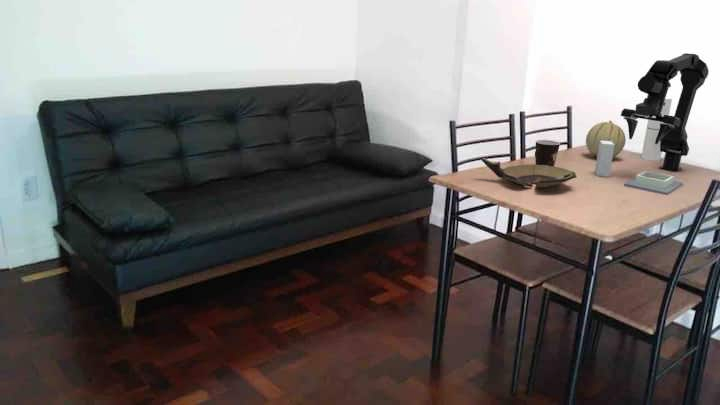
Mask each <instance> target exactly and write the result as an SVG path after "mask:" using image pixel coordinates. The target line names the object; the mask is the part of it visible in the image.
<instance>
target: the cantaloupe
mask: <svg viewBox="0 0 720 405" xmlns="http://www.w3.org/2000/svg"><path fill="white" fill-rule="evenodd" d="M585 138H586V139H585V145H586V148H587V150H588V151H589V153H590V154H591V155H593V156H594V157H596V158H597V156H598V150H599V144H600V141H612V143H613V144H615V146H614V152H613V158H615V157H616V156H618V155H619V154H620V153H621V152H622V151H623V150H624V148H625V145H626V143H627V142H626V134H625V132H624V130H623V129H622V127H620V126H619V125H617V124H615V123H613V121H612V120H609V121H603V122H599V123H596V124H594V125H593V126H592V127H591V128H590V129H589V131H588V132H587V134H586V137H585Z"/></svg>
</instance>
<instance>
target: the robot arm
mask: <svg viewBox="0 0 720 405" xmlns="http://www.w3.org/2000/svg"><path fill="white" fill-rule="evenodd" d="M678 72H679V74H680V83H681V86H682V88H681V92H680V96H679V98H678V103H677V106H676V109H675V113H674V115H670V114H669V115H664V116H663V117H661V116H662V114H661V111H662V108H663V105H664V106H665V102H664V101H665V98H666V97H667V94H668V91H669V89H670V88H671V87H672V86H671V85H672V84H671V83H670V80H672V79H674V78H675V77H676V76H677V75H678ZM709 72H710V71H709V67H708V65H707V63H706V62H705V61H703V60H702V59H701V58H700V56H699V55H698V54H696V53H686V52H685V53H683V54H681V55H679V56H676V57H674V58H672V59H670V60H666V59H665V60H661V59H659V60H658V59H657V60H656V61H654V63H653V64H651V66H650V68H649V70H648V71H647V72H646V73H645V75H644V76H642V77H641V78H640V79H639V80H638V82H637V88H638V90H639V91H640V92H642V93H645V94H647V95H646V96H647V97H644V98H643V99H644V100H643V102H640V103H637V104H636V105H635V109H630V108H623V109H622V110H621V112H620V116H621V117H623V119H624V120H625V121H626V122H627V126H628V127H627V128H628V139H629V140H632V139H633V138H634V135H635V131H636V129H637V126H638V123H639V120H637V119H642V120H647V121H648V120H653V121H659V122H663V124H661V123H660V130H659V132H658V135H657V138H656V141H655V144H658V143H659V142H660V152H662V153H664V158H663V162H662V165H661V166H659V167H658V168H659V169H662V170H667V171H672V172H678V171H681V170H682V169H683V167H680V165H681V161H682V157H684V156H685V157H686V156H688V154H689V151H690V147H689V145H688V141H687V140H688V134H687V131H686V126H687V123H688V120H689V117H690V114H691V111H692V107H693V103H694V100H695V97H696V93H697V91H698V90H699V88H701V87H702V86H703V85H704V84H705V81H706V79H707V78H708V76H709ZM620 116H619V117H620ZM652 116H656V118H653V117H652ZM660 140H661V141H660Z"/></svg>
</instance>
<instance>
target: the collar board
mask: <svg viewBox="0 0 720 405" xmlns="http://www.w3.org/2000/svg"><path fill="white" fill-rule="evenodd" d="M683 185H684V182H683V181H679V180H678V181H677V180H675V176H674V175H669V174H663V173H658V172H653V171H648V170H644V171H642V172H640V173H639V174H637V175H636V177H634V178H632V179H630V180H628V181H626V182H624V183H623V186H624V187H628V188H633V189H638V190H642V191H648V192H651V193H656V194H661V195H667V196H668V195H669V194H671V193H672V192H674V191H676V190H677V189H679V188H680V187H681V186H683Z"/></svg>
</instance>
